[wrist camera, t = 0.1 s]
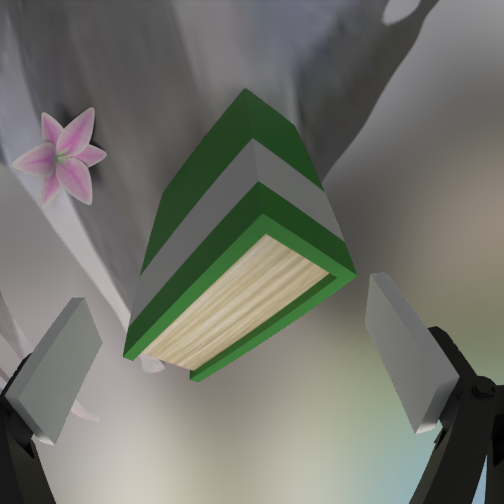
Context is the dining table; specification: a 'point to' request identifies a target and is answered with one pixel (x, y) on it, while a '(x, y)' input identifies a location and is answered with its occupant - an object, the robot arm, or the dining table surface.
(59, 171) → the lily
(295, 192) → the hardback book
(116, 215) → the dining table surface
